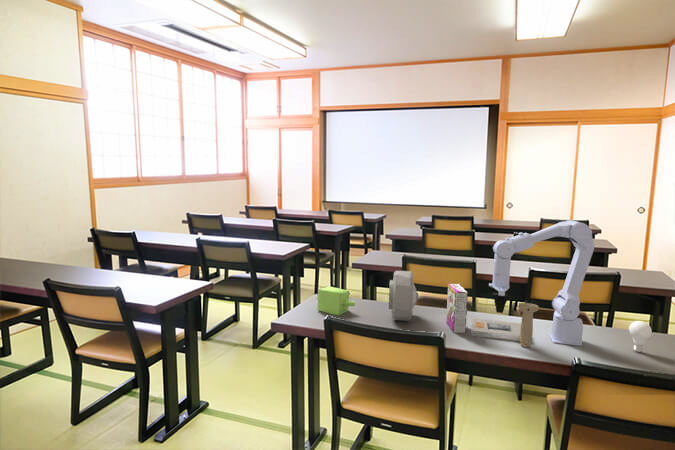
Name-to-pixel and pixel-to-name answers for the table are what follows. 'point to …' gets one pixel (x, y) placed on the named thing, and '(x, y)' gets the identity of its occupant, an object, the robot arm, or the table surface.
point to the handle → (527, 323)
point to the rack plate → (482, 325)
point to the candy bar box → (457, 308)
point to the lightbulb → (639, 334)
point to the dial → (402, 295)
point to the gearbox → (334, 300)
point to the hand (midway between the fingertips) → (498, 309)
